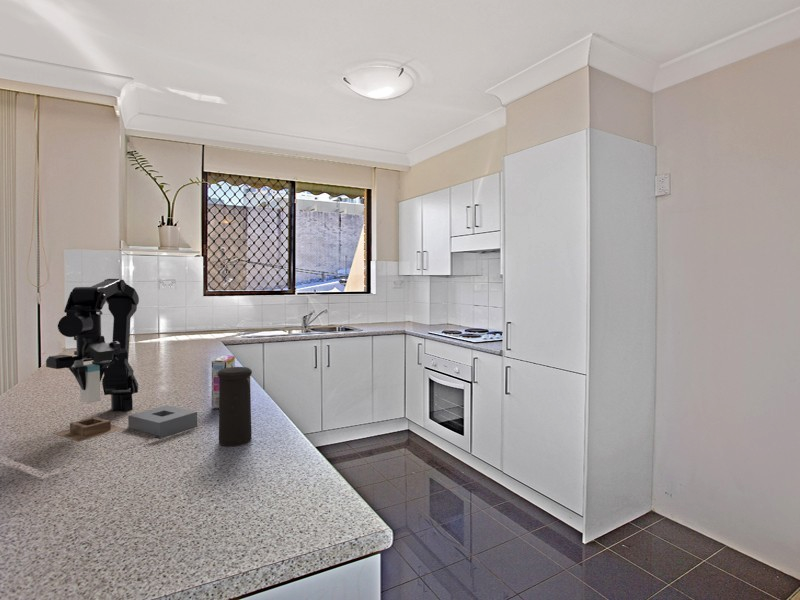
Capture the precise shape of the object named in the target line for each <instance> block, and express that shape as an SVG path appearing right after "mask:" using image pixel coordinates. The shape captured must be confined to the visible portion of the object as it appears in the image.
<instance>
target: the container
mask: <svg viewBox="0 0 800 600" xmlns="http://www.w3.org/2000/svg"><path fill="white" fill-rule="evenodd" d="M252 373H253V371H252V369H250V368H249V367H248V366H247V367H246V366H235V367H229V368H223V369H221V370H220V371H218V377H219V409H218V444H219V445H220V446H224V447H237V446H241V445H245V444H248V443H249V442H251V441H252V408H251V407H252V406H251V405H252V404H251V401H252V400H251V399H252V398H251V397H252V396H251V395H252V393H251V376H252Z"/></svg>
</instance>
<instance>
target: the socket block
mask: <svg viewBox="0 0 800 600" xmlns="http://www.w3.org/2000/svg"><path fill="white" fill-rule="evenodd" d="M127 419H128V428H129V429H133V430H136V431H140V432H144V433H148V434H151V435H155V436H154V439H157V440H161V439H164V438H168V437H171V436H173V435H177V434H180V433H184V432H186V431H189V430H192V429H195V428H198V411H196V410H191V409H186V408H181V407H176V406H172V405H161V406H158V407H155V408H151V409H147V410H143V411H139V412H135V413H132V414H128V415H127Z"/></svg>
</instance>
